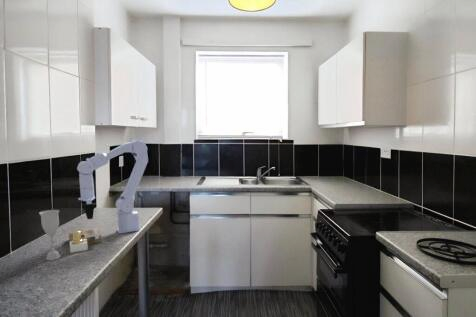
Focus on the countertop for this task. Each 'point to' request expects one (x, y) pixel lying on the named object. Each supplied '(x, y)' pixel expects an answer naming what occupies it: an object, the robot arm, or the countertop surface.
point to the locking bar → (93, 234)
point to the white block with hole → (78, 246)
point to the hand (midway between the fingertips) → (89, 217)
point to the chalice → (50, 229)
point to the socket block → (89, 239)
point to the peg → (77, 237)
